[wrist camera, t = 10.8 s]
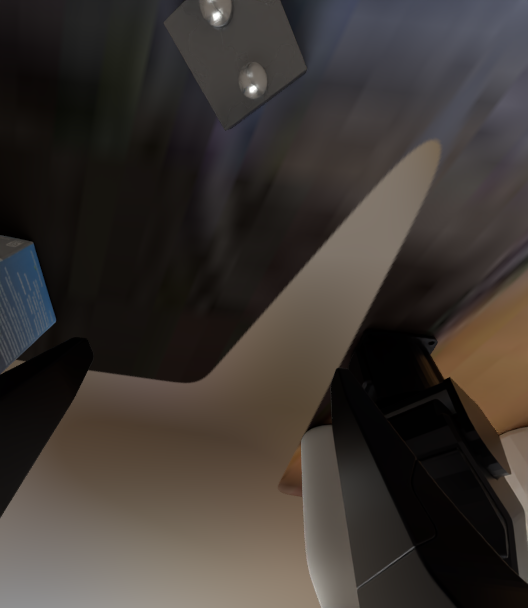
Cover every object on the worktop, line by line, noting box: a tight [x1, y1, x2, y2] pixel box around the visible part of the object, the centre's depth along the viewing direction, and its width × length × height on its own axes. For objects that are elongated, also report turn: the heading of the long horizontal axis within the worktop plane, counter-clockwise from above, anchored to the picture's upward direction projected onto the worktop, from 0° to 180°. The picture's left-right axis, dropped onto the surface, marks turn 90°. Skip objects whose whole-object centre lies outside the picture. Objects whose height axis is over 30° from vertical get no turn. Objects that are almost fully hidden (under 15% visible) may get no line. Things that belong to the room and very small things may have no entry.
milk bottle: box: [301, 425, 359, 608], centre depth 28 cm, size 8×8×20 cm
